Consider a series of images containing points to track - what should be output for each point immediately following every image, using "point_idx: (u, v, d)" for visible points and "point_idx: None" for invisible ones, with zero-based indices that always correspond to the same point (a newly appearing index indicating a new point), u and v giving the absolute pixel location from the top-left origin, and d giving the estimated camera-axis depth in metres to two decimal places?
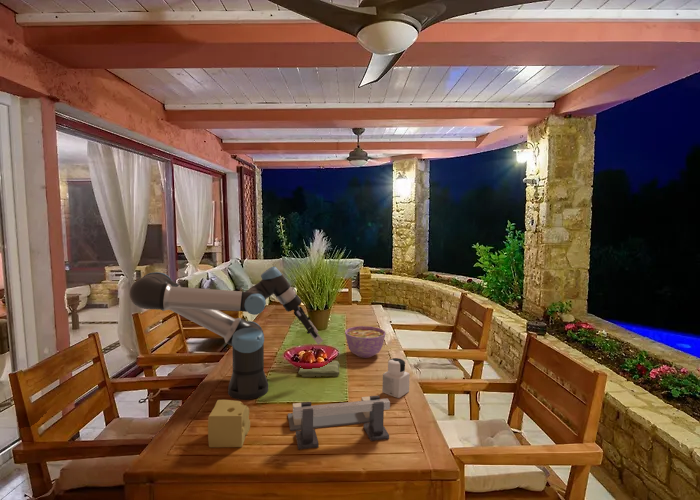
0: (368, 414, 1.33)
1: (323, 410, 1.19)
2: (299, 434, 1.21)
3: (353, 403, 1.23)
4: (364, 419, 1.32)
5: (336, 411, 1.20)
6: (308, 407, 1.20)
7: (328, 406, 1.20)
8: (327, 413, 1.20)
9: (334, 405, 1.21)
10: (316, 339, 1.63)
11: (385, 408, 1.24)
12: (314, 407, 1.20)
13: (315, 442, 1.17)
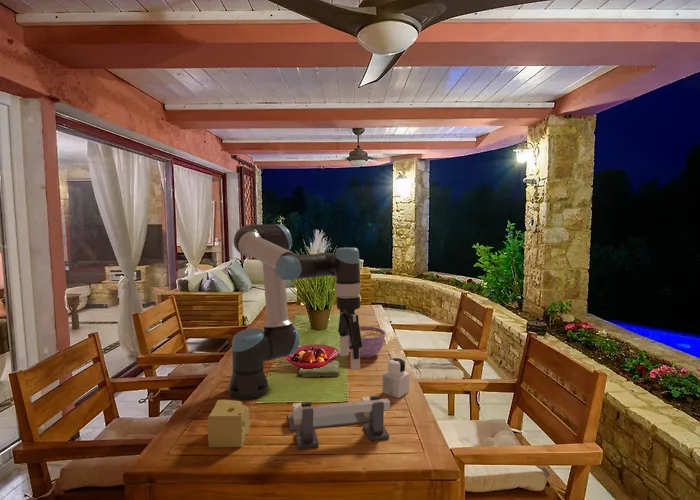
0: (368, 414, 1.33)
1: (323, 410, 1.19)
2: (299, 434, 1.21)
3: (353, 403, 1.23)
4: (364, 419, 1.32)
5: (336, 411, 1.20)
6: (308, 407, 1.20)
7: (328, 406, 1.20)
8: (327, 413, 1.20)
9: (334, 405, 1.21)
10: (353, 362, 1.19)
11: (385, 408, 1.24)
12: (314, 407, 1.20)
13: (315, 442, 1.17)
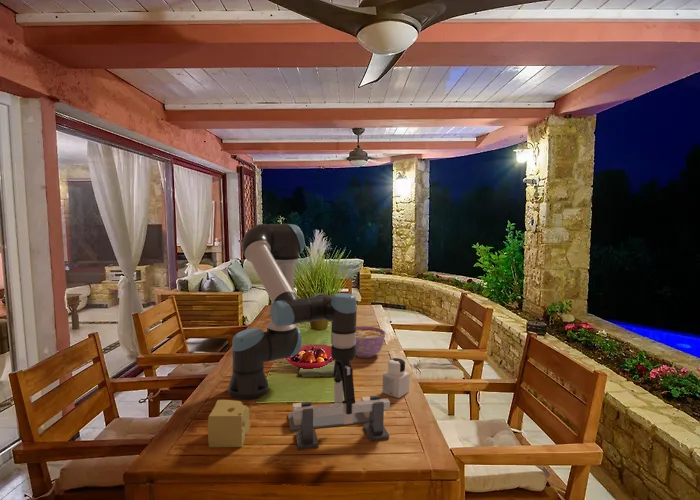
0: (368, 414, 1.33)
1: (323, 410, 1.19)
2: (299, 434, 1.21)
3: (353, 403, 1.23)
4: (364, 419, 1.32)
5: (336, 411, 1.20)
6: (308, 407, 1.20)
7: (328, 406, 1.20)
8: (327, 413, 1.20)
9: (334, 405, 1.21)
10: (346, 416, 1.14)
11: (385, 408, 1.24)
12: (314, 407, 1.20)
13: (315, 442, 1.17)
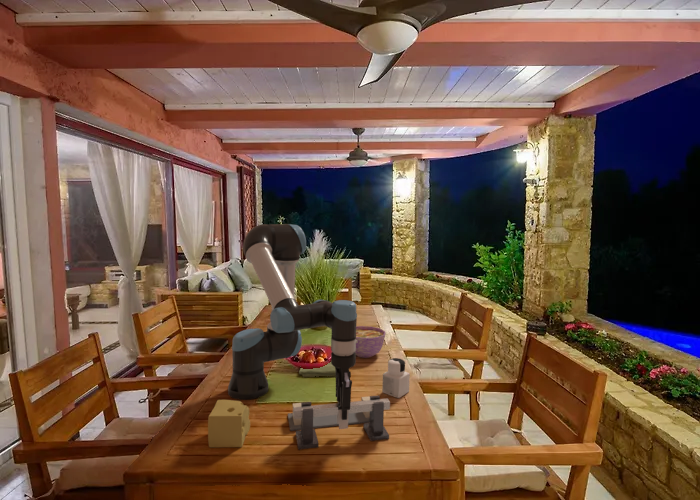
0: (368, 414, 1.33)
1: (323, 410, 1.19)
2: (299, 434, 1.21)
3: (353, 403, 1.23)
4: (364, 419, 1.32)
5: (335, 411, 1.20)
6: (308, 407, 1.20)
7: (328, 406, 1.20)
8: (327, 413, 1.20)
9: (334, 405, 1.21)
10: (341, 421, 1.20)
11: (385, 408, 1.24)
12: (314, 407, 1.20)
13: (315, 442, 1.17)
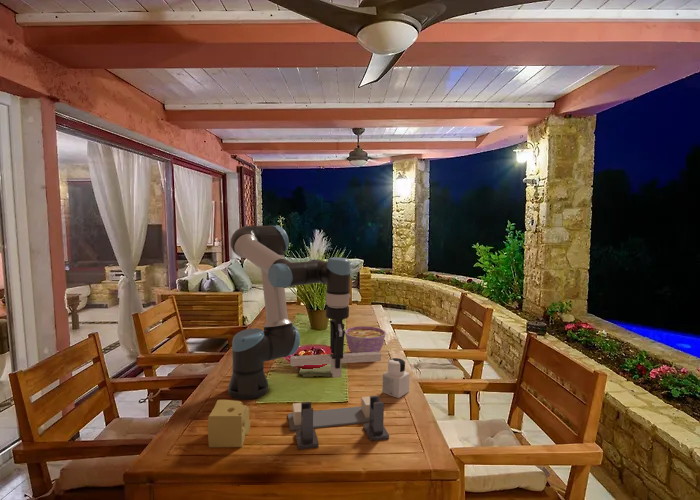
0: (368, 414, 1.33)
1: (317, 359, 1.27)
2: (299, 434, 1.21)
3: (346, 354, 1.31)
4: (364, 419, 1.32)
5: (330, 360, 1.28)
6: (304, 356, 1.28)
7: (323, 356, 1.29)
8: (322, 362, 1.28)
9: (328, 355, 1.29)
10: (335, 370, 1.28)
11: (376, 360, 1.32)
12: (309, 356, 1.28)
13: (315, 442, 1.17)
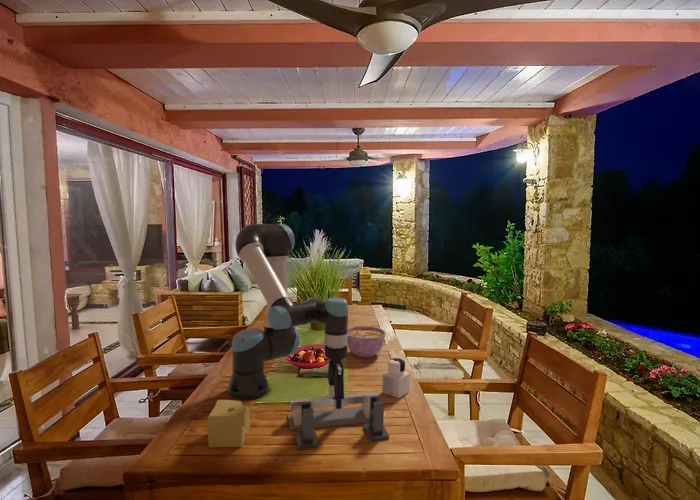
0: (368, 414, 1.33)
1: (317, 402, 1.31)
2: (299, 434, 1.21)
3: (345, 396, 1.34)
4: (364, 419, 1.32)
5: (329, 402, 1.32)
6: (304, 399, 1.31)
7: (322, 398, 1.32)
8: (321, 404, 1.31)
9: (327, 397, 1.32)
10: (336, 410, 1.28)
11: None
12: (309, 399, 1.31)
13: (315, 442, 1.17)
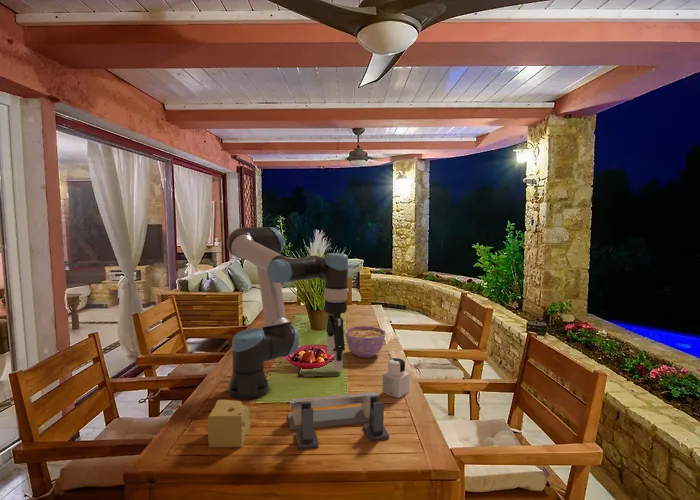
0: (368, 414, 1.33)
1: (317, 402, 1.31)
2: (299, 434, 1.21)
3: (345, 396, 1.34)
4: (364, 419, 1.32)
5: (329, 402, 1.32)
6: (304, 399, 1.31)
7: (322, 398, 1.32)
8: (321, 404, 1.31)
9: (327, 397, 1.32)
10: (336, 363, 1.26)
11: None
12: (309, 399, 1.31)
13: (315, 442, 1.17)
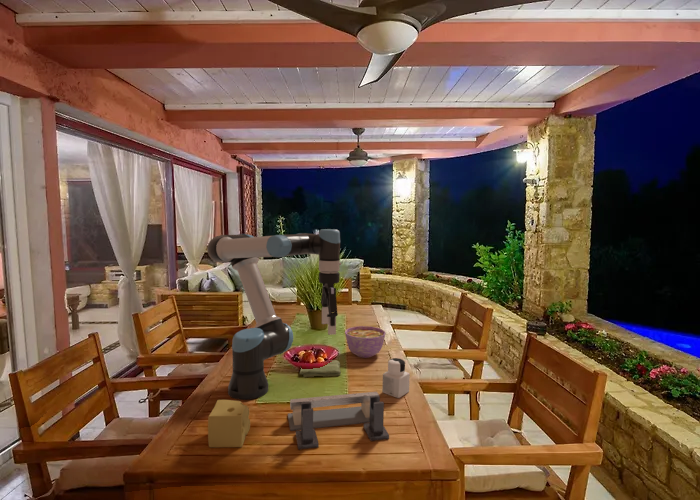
0: (368, 414, 1.33)
1: (317, 402, 1.31)
2: (299, 434, 1.21)
3: (345, 396, 1.34)
4: (364, 419, 1.32)
5: (329, 402, 1.32)
6: (304, 399, 1.31)
7: (322, 398, 1.32)
8: (321, 404, 1.31)
9: (327, 397, 1.32)
10: (330, 328, 1.38)
11: None
12: (309, 399, 1.31)
13: (315, 442, 1.17)
